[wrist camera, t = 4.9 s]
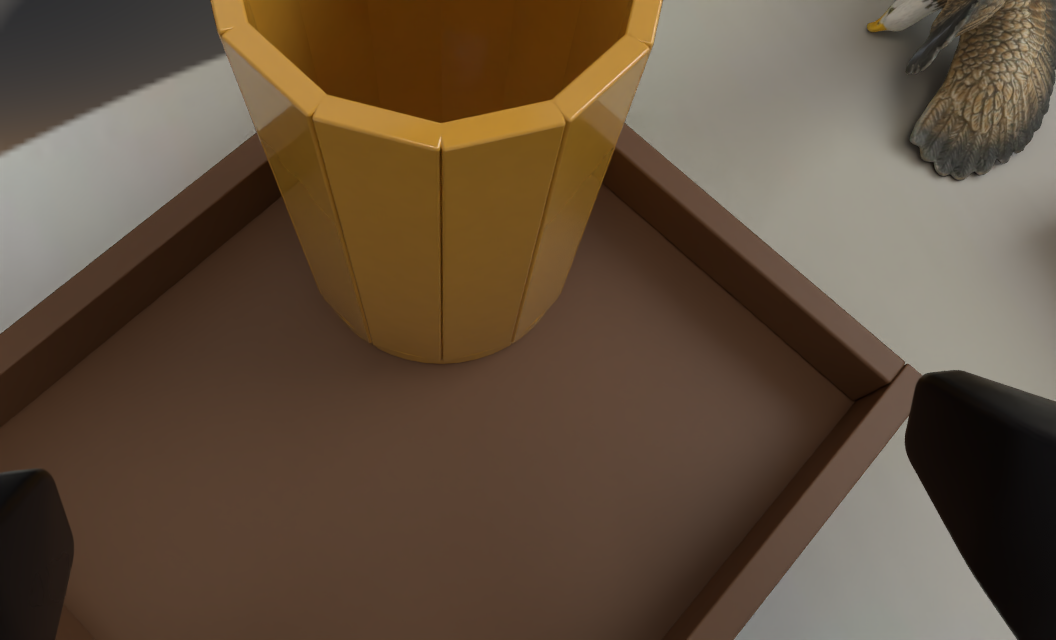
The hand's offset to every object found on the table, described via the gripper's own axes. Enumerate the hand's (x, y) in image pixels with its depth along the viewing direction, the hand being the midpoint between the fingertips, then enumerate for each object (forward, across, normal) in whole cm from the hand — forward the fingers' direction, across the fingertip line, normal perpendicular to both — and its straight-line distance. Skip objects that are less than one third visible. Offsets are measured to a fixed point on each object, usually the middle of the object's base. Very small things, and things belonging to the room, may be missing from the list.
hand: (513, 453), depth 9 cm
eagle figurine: (+20, -17, 0) cm, 26 cm away
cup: (+15, 0, +3) cm, 15 cm away
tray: (+12, +1, +8) cm, 14 cm away
